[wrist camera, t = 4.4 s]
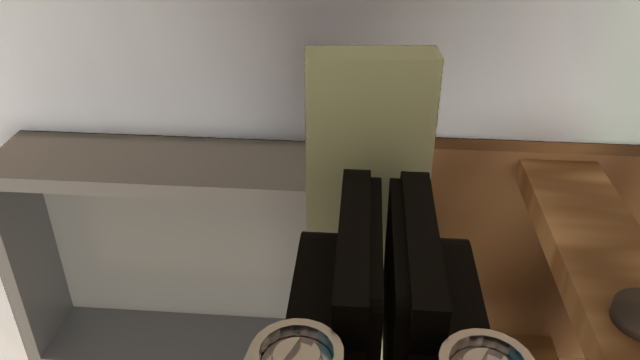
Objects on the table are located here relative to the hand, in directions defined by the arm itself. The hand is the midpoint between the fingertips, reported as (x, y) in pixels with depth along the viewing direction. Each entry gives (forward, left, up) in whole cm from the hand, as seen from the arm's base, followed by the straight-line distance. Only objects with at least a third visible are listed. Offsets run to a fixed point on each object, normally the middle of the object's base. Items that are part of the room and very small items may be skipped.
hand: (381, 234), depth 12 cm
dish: (+10, -8, -13) cm, 18 cm away
